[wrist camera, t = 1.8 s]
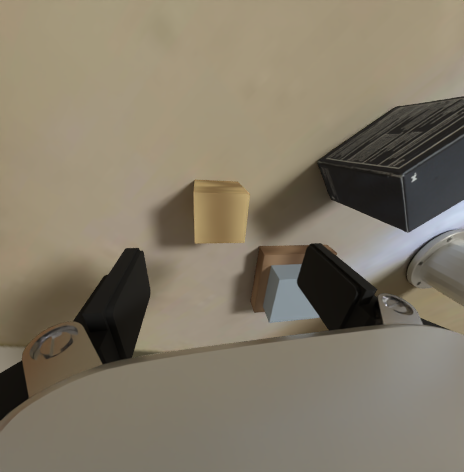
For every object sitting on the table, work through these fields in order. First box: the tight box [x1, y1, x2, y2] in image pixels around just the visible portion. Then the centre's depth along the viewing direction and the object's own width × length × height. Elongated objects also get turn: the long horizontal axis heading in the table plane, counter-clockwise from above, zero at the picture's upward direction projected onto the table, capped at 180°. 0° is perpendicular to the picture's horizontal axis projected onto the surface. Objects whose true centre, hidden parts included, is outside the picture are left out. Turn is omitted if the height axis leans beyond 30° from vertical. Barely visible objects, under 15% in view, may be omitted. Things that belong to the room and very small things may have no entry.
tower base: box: [251, 245, 337, 313], centre depth 29 cm, size 11×11×3 cm
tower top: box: [263, 264, 319, 323], centre depth 26 cm, size 8×8×3 cm
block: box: [193, 180, 250, 243], centre depth 20 cm, size 5×5×6 cm
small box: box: [318, 96, 464, 233], centre depth 18 cm, size 11×6×10 cm, turn 124°
